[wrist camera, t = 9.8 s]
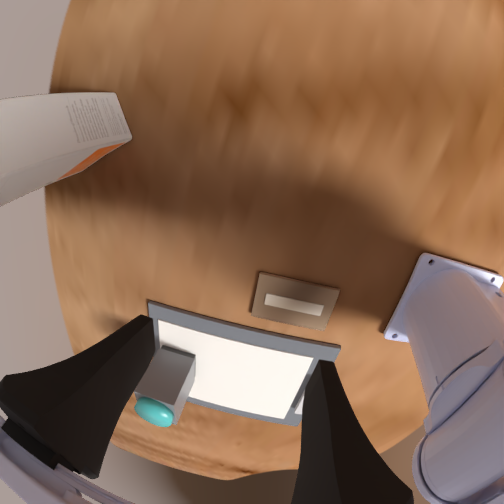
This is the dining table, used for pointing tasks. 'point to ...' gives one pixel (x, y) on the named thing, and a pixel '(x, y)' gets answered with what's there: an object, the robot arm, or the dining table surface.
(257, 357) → the clipboard
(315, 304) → the word placard
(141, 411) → the teal-capped grey stamp
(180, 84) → the dining table surface
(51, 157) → the skincare box
